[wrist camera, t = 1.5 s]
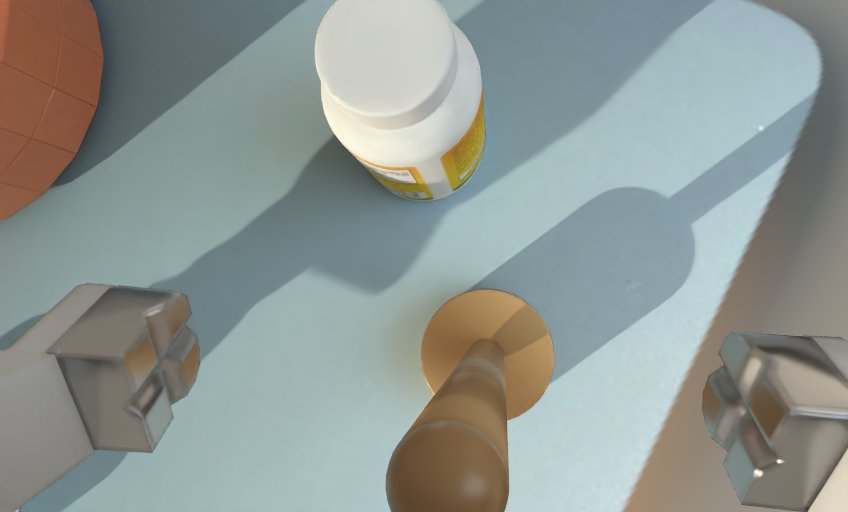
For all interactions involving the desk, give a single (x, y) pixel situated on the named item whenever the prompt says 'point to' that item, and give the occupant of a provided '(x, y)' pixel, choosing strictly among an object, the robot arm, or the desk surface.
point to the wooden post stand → (470, 404)
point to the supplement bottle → (403, 94)
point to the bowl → (44, 92)
